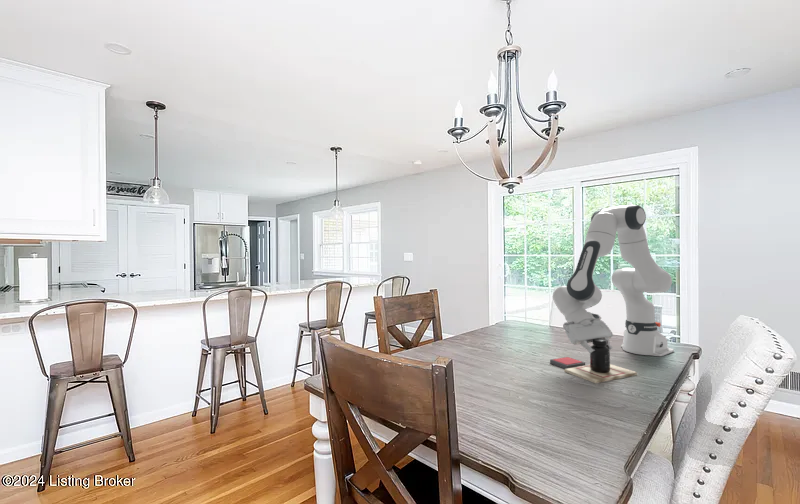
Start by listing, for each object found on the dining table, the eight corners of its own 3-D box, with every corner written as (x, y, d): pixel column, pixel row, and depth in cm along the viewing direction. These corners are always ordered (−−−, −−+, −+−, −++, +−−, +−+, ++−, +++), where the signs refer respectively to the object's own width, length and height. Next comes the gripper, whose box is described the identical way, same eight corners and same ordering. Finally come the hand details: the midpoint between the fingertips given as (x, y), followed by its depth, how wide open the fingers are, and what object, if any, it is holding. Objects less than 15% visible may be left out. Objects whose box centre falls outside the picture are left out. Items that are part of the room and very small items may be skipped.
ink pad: (567, 360, 160) (567, 356, 160) (585, 366, 152) (585, 362, 152) (550, 363, 156) (550, 359, 156) (567, 369, 148) (567, 365, 148)
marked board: (604, 364, 154) (604, 361, 154) (636, 374, 141) (636, 371, 141) (564, 371, 145) (564, 368, 145) (595, 383, 132) (595, 380, 132)
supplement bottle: (605, 367, 146) (605, 337, 146) (613, 373, 140) (613, 342, 140) (587, 367, 147) (586, 337, 147) (594, 373, 140) (594, 341, 140)
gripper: (565, 318, 146) (586, 349, 137) (602, 314, 153) (624, 343, 144) (556, 327, 150) (576, 358, 141) (593, 323, 158) (614, 352, 149)
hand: (601, 350), depth 143 cm, fingers open, 8 cm apart
